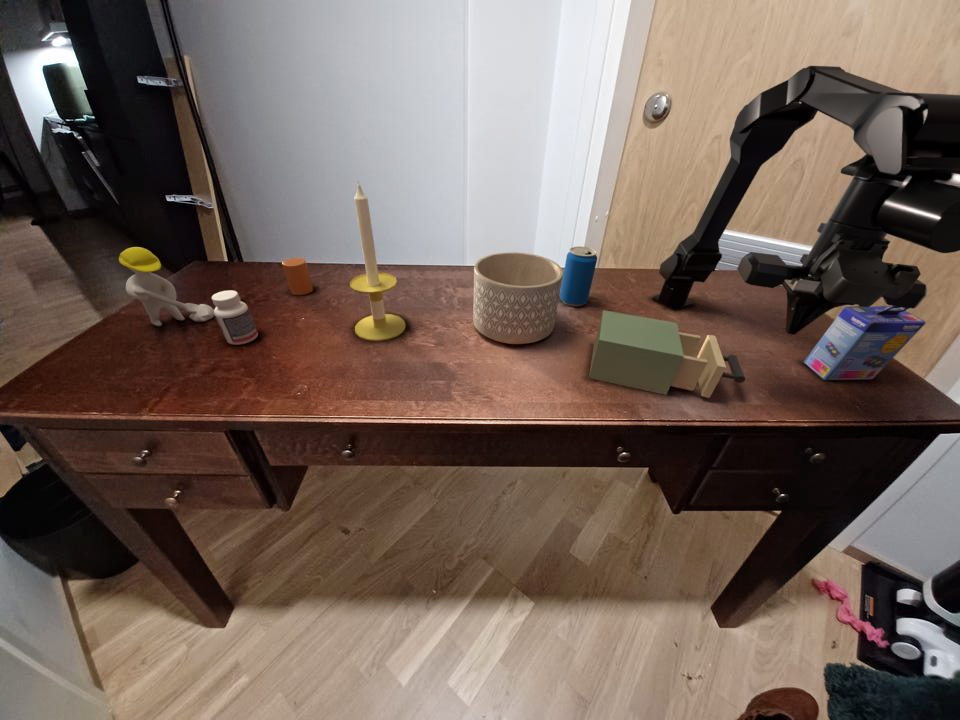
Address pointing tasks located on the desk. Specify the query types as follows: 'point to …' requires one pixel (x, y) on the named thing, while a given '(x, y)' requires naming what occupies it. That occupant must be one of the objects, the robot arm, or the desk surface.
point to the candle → (373, 282)
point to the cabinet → (636, 352)
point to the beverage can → (578, 276)
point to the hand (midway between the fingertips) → (789, 333)
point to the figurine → (156, 288)
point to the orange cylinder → (297, 276)
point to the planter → (516, 296)
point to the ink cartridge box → (862, 342)
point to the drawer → (704, 365)
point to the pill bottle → (234, 318)
